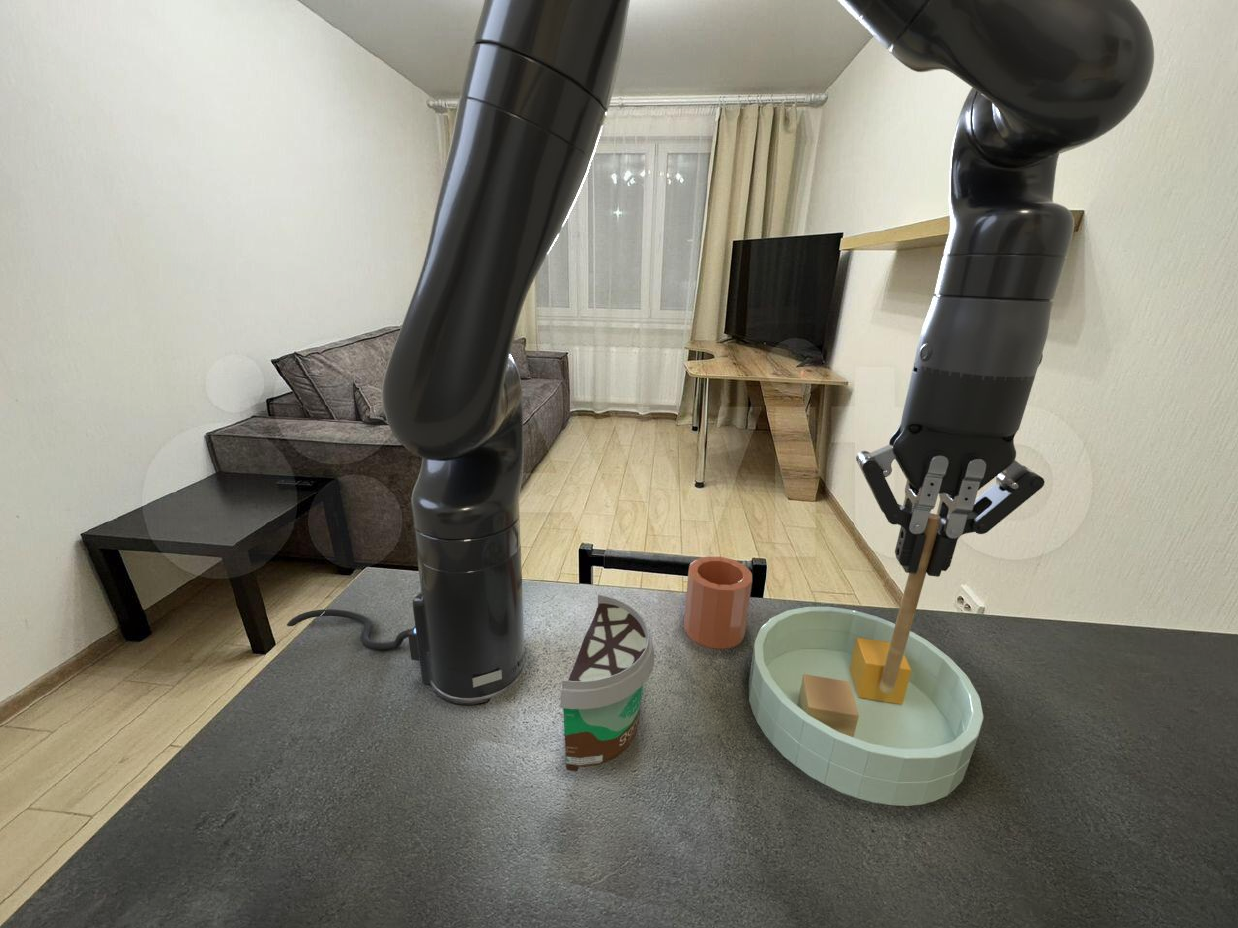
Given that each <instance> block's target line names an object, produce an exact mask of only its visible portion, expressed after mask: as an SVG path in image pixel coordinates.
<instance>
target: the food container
mask: <svg viewBox="0 0 1238 928" xmlns="http://www.w3.org/2000/svg"><path fill="white" fill-rule="evenodd" d="M578 651H579V652H578V654H577V657H576V659H575V661H574V665H573V667H572V669H571V672H570V674H569V677H568V680H566V679H562V680H561V690H560V702H559V708H560V709H562V711H563V731H564V748H565V750H564V753H565V770H567V771H572V772H573V771H574V772H575V771H576V772H578V770H579V768H584V767H591V766H599V765H602V764H604V763H607V762H609V761H611V760H614V759H617V757H619V756H620V755H621V754H622V753H624V752H625V750H627V749H628V748H629V747H630V745H631V744H632V742H633V741H634V739H635V737H636V733H637V729H638V723H639V717H640V710H641V704H642V703H641V702H642V697H643V696H642V695H643V689H644V684H645V683H646V682H647V681H648V679H649V678H650V676H651V674H652V673H653V669H654V666H655V659H656V656H655V655H656V654H655V648H654V644H653V637H652V634H651V632H650V629H649V627H648V625H647V623H646V621H645V619H644V618H643V617H642V615H641V614H640V613H639V612H638V611H637V610H636V609H634V607H632V606H631V605H629V604H628V603H625V602H623V601H621V600H619V599H616V598H614V597H610V596H607V595H602V594H598V595H597V607H596V611H595V614H594V616H593V619H592V621H591V623H590V625H589V627H588V629H587V631H586V633H585V635H584V637H583V640H582V643H581V645H580V649H579V650H578Z"/></svg>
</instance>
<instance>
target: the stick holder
mask: <svg viewBox="0 0 1238 928" xmlns="http://www.w3.org/2000/svg"><path fill="white" fill-rule="evenodd" d="M752 586H753V573H752V572H751V570H750V569H749V568H748V567H747V565H745V564H743V563H741V562H739V561H738V560H735V559H732V558H728V557H724V556H704V557H700V558H696V559H695V560H693V562H691V563H690V564H689V565H688V572H687V583H686V594H685V605H684V606H685V607H684V617H683V629H684V632H685V634H686V635H687V637H688V638H689V639H690V640H692V641H693V642H695V644H698V645H700V646H703V647H705V648H709V649H713V650H714V649H715V650H726V649H731V648H734V647H736V646H738V645H739V644H741V643H742V641H743V640H744V638H745V636H746V630H747V621H748V614H749V607H750V599H751V594H752V593H751V592H752Z"/></svg>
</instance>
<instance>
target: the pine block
mask: <svg viewBox="0 0 1238 928" xmlns="http://www.w3.org/2000/svg"><path fill="white" fill-rule="evenodd" d="M797 706H798V707H799V708H801V709H802V710H803V711H804V712H805V713H807V714H808V715H809V716H811V717H813V718H815V719H816V720H818V721H820V722H822V723H823V724H825V725H827V726H829V727H831V728H832V729H834V730H836V731H838V732H840V733H843V734H845V735H848V736H851V737H853V738H854V734H855V730H856V726H857V722H858V718H859V714H858V711H857V707H856V704H855V700H854V697H853V693H852V690H851V686H850V682H848V681H842V680H836V679H830V678H824V677H818V676H812V675H806V674H803V677H802V683H801V688H800V693H799V698H798V704H797Z"/></svg>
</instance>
